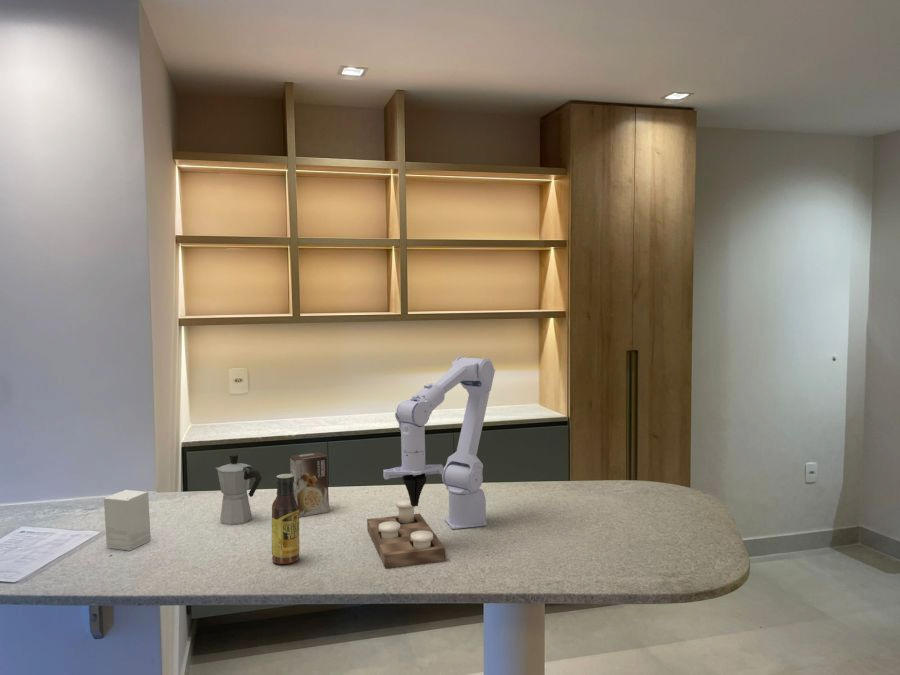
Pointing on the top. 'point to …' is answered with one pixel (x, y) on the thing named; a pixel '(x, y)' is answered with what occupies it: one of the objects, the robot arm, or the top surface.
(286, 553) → the sauce bottle
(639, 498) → the top surface
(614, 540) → the top surface
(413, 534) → the knob camera side
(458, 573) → the top surface
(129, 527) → the supplement box
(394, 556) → the knob panel
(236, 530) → the top surface
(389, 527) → the knob middle
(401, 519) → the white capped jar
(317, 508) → the coffee box
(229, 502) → the coffee maker
